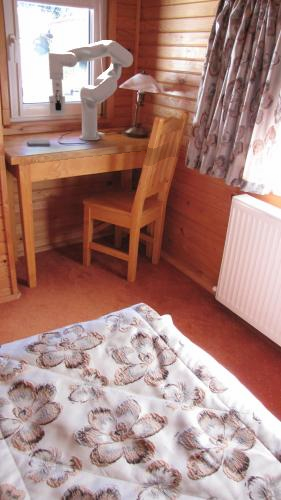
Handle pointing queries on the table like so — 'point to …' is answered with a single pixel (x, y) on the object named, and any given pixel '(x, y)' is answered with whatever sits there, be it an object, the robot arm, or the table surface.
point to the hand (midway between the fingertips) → (57, 109)
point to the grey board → (38, 142)
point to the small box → (52, 106)
